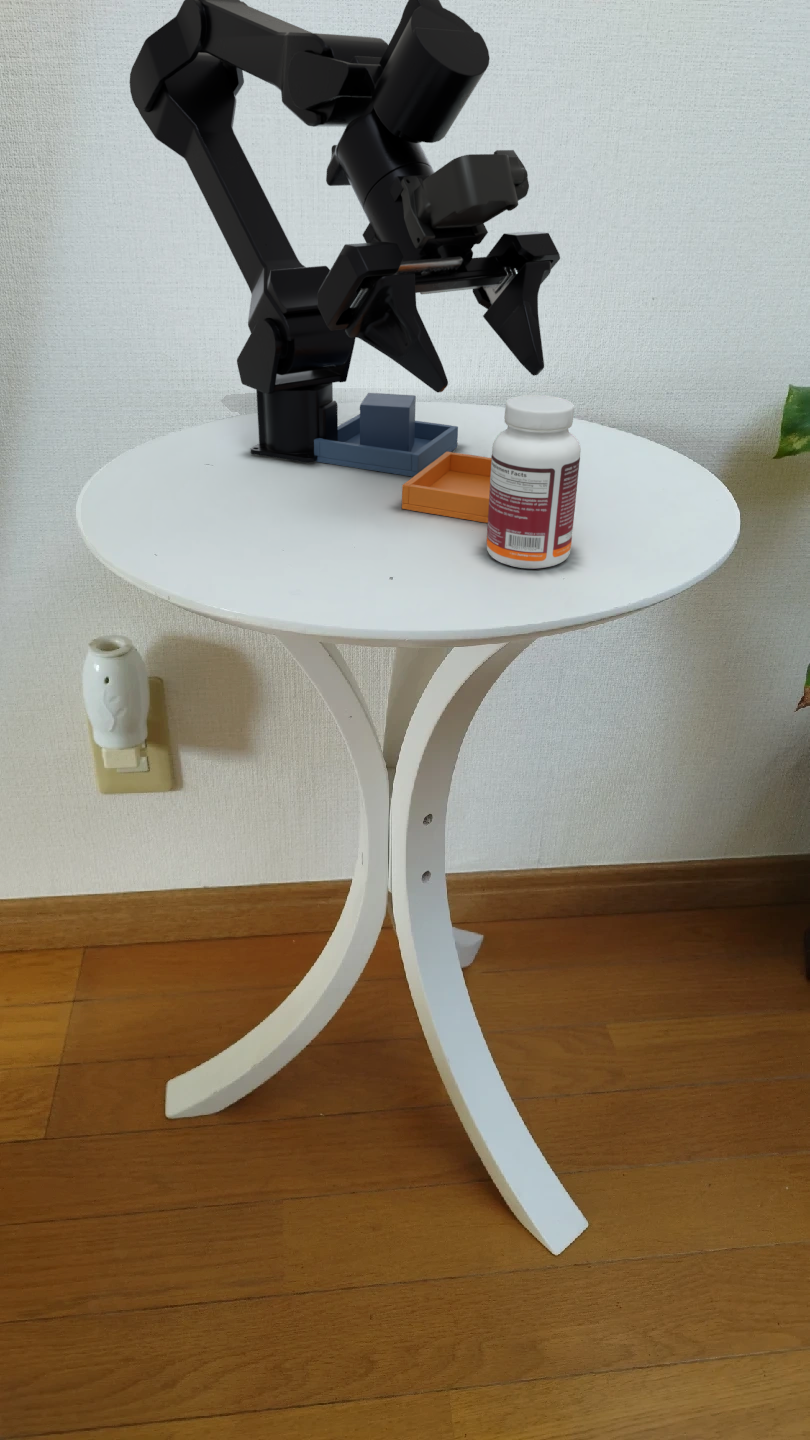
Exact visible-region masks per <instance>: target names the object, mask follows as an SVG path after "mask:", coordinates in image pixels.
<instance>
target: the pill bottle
mask: <svg viewBox="0 0 810 1440" xmlns="http://www.w3.org/2000/svg"><path fill="white" fill-rule="evenodd" d="M574 413H575V405H574V403H573V402H572V401H570V400H568V399H565V398H561V397H558V396H552V395H544V394H523V395H516V396H512V397H510V398H508V399H506V401H505V407H504V417H503V418H504V419H503V420H504V424H505V425H506V426H507V428H506V429H504V430H502V431H500V432H499V433H498V434H497V436H496V437H495V438H494V440H493V442H492V445H491V446H492V447H491V457H490V458H491V476H490V493H489V510H488V523H487V528H486V529H487V531H486V550H487V553H488V554H489V556H490V557H491V558H493V559H494V560H496V561H497V562H499V563H501V564H504V565H506V566H509V567H510V566H511V567H515V568H519V569H520V568H521V569H527V570H528V569H532V570H533V569H534V570H535V569H545V568H550V567H553V566H556V565H559V564H561V563H563V562H565V560H567V559H568V557H569V556H570V553H571V549H572V541H573V529H574V520H575V512H576V502H577V492H578V482H579V481H578V479H579V472H580V462H581V452H582V451H581V450H582V449H581V444H580V441H579V440H578V438H577V437H576V436H575V435H574V434H573V433H571V432H570V431H569V429H570V428H571V427H572V426H573V422H574Z"/></svg>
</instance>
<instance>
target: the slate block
mask: <svg viewBox="0 0 810 1440" xmlns="http://www.w3.org/2000/svg"><path fill="white" fill-rule="evenodd" d="M416 399H417V396H416V395H415V394H414V395H413V394H398V393H397V394H396V393H380V392H379V393H378V392H367V393H366V395H365V397H364V399H362V401H361V403H360V404H359V414H360V445H366V446H373V447H380V448H387V449H393V450H400V451H407V452H411V449H412V447H413V445H414V439H415V421H416Z"/></svg>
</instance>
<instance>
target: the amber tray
mask: <svg viewBox="0 0 810 1440" xmlns="http://www.w3.org/2000/svg"><path fill="white" fill-rule="evenodd" d="M491 458H492V457H488V456H481V455H474V454H466V453H461V452H454V451H453V452H452V451H451V452H445V453H444V454H443V455H441V456H440V457H439V458H438V459H436V460H435V461H434V462H432V463H431V464H430V465H428V466H427V467H426V468H424V469H423V470H422V471H420V472H419V473H418V474H416V475H415V476H414V477H412V476H411V478H410V479H408V480H407V481H406V482H404V483H403V484H402V487H401V509H402V510H407V511H412V512H419V513H424V514H425V513H426V514H431V515H437V516H444V517H449V518H455V519H460V520H461V519H462V520H467V521H474V522H479V523H486V524H488V510H489V493H490V476H491Z"/></svg>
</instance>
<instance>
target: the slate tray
mask: <svg viewBox="0 0 810 1440" xmlns="http://www.w3.org/2000/svg"><path fill="white" fill-rule="evenodd" d="M458 436H459V426H457V425H452V424H451V425H450V424H443V423H435V422H429V421H422V420H415V439H414V445H413V447H412V449H411V452H407V451H400V450H393V449H387V448H380V447H373V446H366V445H360V413H359V414H356V415H355V416H354V417H352V418H350V419H348V420H346V421H345V422H342V423H341V424H338V441H332V440H325V439H322V438H317V439H315V440H314V455H317V456H318V457H317V460H316V461H315V462H316V463H321V464H322V463H323V464H329V465H335V466H341V467H342V466H343V467H348V468H355V469H361V470H366V471H367V470H368V471H373V472H374V471H375V472H381V473H387V474H393V475H401V476H407V477H411V478H412V477H414V476H415V475H416V474H418V473H419V472H420V471H422V470H423V469H424V468H426V467H427V466H428V465H430V464H431V463H432V462H434V461H435V460H436V459H438V458H439V457H440V456H441V455H443V454H444V453H445V452H452V451H453V452H454V450H456V449H457V448H458V438H459V437H458Z"/></svg>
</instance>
